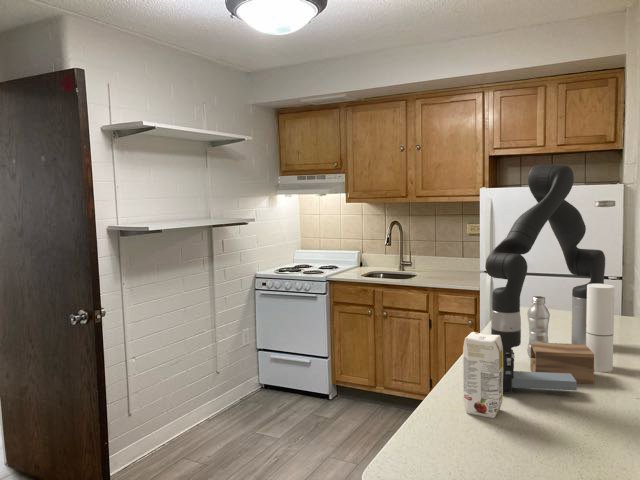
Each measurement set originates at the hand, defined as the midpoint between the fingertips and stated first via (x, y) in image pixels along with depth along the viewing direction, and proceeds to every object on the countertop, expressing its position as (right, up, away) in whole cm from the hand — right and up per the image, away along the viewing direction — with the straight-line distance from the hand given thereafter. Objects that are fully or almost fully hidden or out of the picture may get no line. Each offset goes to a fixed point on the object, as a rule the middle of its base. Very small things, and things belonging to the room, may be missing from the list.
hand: (505, 387), depth 141 cm
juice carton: (-10, -3, -13) cm, 17 cm away
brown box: (+19, +1, +9) cm, 21 cm away
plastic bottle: (+19, +2, +24) cm, 31 cm away
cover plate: (+7, +1, -2) cm, 7 cm away
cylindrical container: (+33, +1, +15) cm, 36 cm away
